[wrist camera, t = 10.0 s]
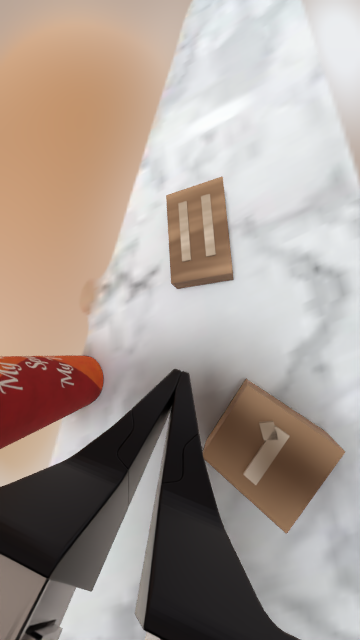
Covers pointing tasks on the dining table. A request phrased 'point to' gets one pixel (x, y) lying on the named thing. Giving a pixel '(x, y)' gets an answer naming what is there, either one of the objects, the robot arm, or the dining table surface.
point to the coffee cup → (43, 391)
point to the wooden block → (199, 235)
